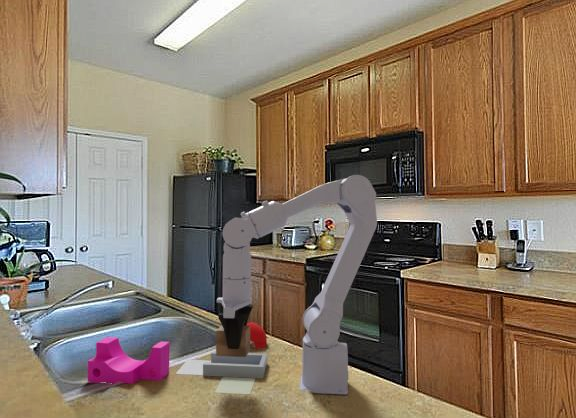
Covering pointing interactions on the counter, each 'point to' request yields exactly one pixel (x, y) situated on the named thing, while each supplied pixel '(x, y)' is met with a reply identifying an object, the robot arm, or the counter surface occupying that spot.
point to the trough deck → (227, 366)
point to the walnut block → (224, 351)
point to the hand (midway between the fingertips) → (236, 344)
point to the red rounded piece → (257, 335)
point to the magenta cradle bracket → (126, 363)
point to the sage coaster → (235, 385)
